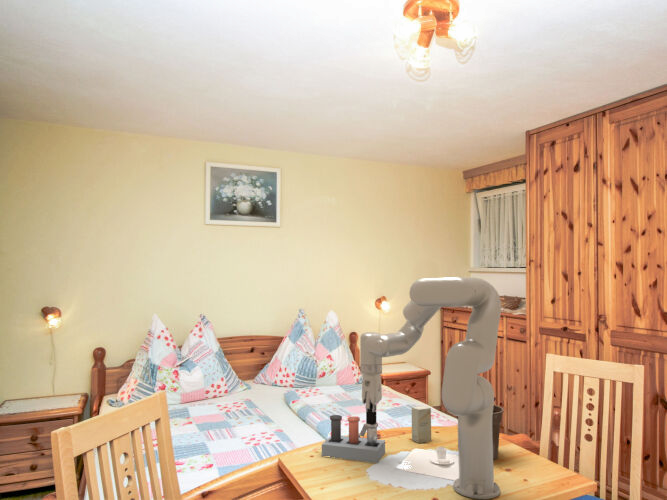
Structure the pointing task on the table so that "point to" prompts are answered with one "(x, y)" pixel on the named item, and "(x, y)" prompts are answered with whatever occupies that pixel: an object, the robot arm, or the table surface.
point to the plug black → (335, 427)
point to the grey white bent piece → (362, 431)
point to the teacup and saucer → (433, 463)
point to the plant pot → (496, 428)
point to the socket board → (354, 450)
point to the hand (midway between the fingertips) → (371, 423)
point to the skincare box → (421, 424)
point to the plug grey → (372, 434)
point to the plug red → (353, 429)
